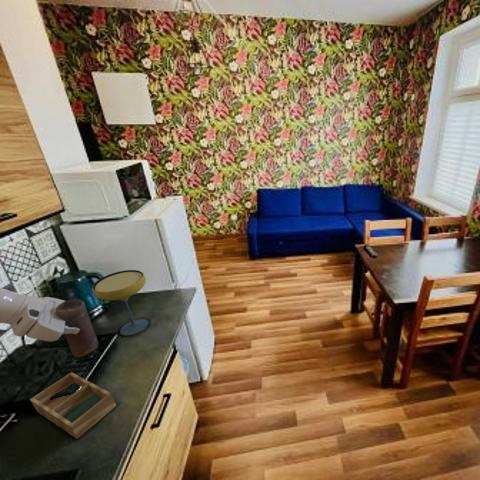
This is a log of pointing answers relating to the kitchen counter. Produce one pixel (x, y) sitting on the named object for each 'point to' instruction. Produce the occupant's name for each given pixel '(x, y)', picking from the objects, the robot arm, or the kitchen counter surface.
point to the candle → (78, 317)
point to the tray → (74, 405)
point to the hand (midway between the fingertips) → (79, 324)
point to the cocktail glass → (122, 294)
